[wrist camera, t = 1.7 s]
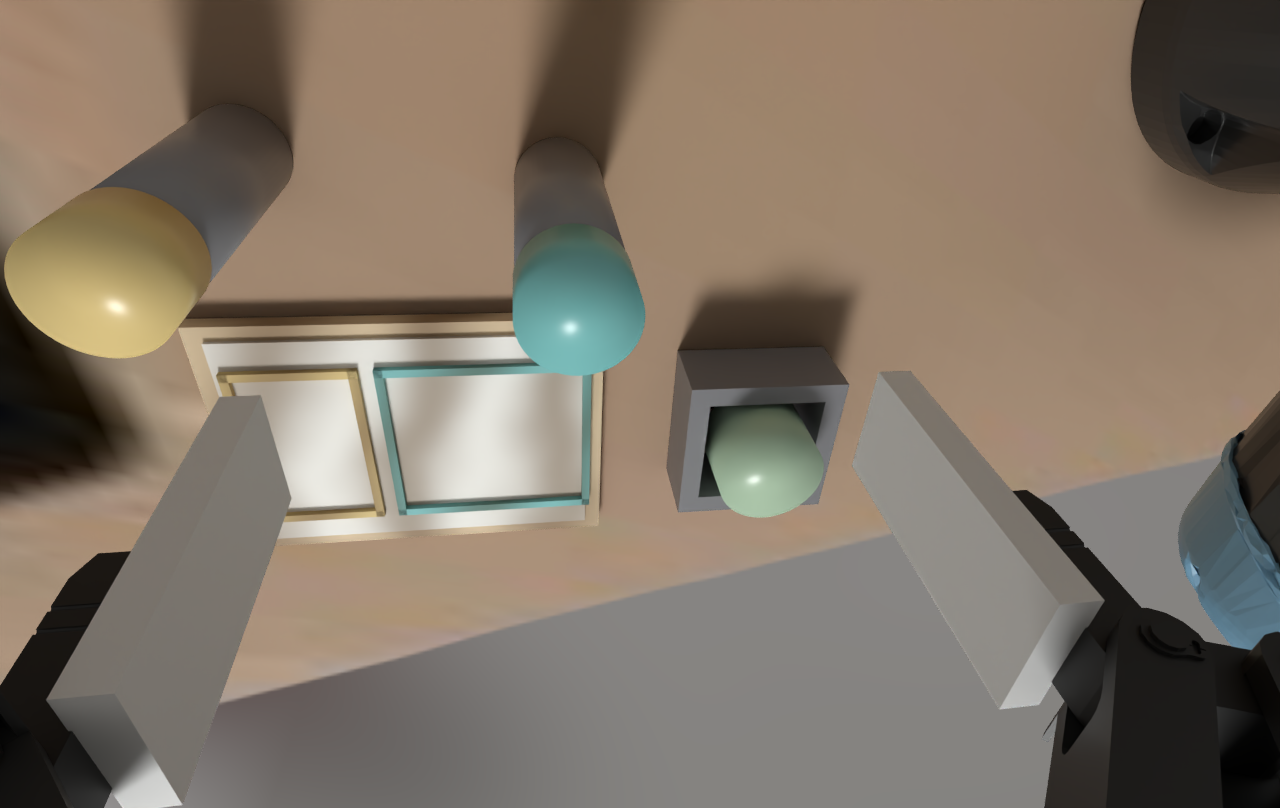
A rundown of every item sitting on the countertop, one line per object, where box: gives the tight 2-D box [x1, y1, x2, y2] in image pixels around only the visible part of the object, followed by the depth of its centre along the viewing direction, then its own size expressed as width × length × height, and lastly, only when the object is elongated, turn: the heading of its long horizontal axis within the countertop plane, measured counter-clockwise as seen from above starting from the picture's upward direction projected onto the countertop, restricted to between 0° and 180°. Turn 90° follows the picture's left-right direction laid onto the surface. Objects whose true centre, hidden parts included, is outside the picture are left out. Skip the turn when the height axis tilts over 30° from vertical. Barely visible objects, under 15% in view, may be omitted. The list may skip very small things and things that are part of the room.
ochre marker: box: [4, 104, 293, 358], centre depth 23 cm, size 4×4×12 cm
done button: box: [705, 403, 824, 517], centre depth 35 cm, size 5×5×4 cm
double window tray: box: [178, 313, 603, 546], centre depth 35 cm, size 18×13×1 cm
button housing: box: [667, 347, 849, 512], centre depth 37 cm, size 8×8×4 cm
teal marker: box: [513, 137, 645, 376], centre depth 25 cm, size 4×4×12 cm
